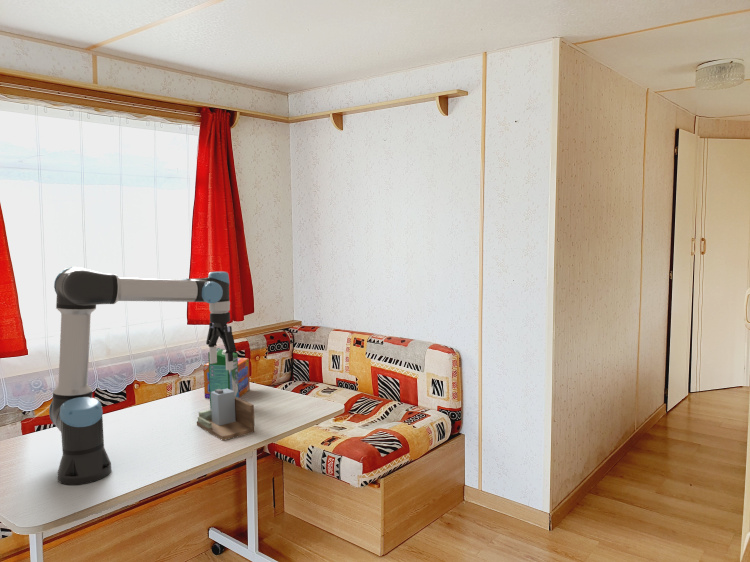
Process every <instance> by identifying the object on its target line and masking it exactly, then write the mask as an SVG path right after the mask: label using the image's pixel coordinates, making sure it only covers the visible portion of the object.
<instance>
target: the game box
mask: <svg viewBox="0 0 750 562" xmlns="http://www.w3.org/2000/svg"><path fill="white" fill-rule="evenodd" d="M249 362H250V359H249V358H247V357H238V387H239V398H240V399H241V397H242V396H243V395H245V394H246V393H247V392H249V391H250V390H251V389H250V388H251V385H250V363H249ZM203 390H204V399H210V385H209V361H208V362H207V363H204V364H203Z"/></svg>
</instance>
